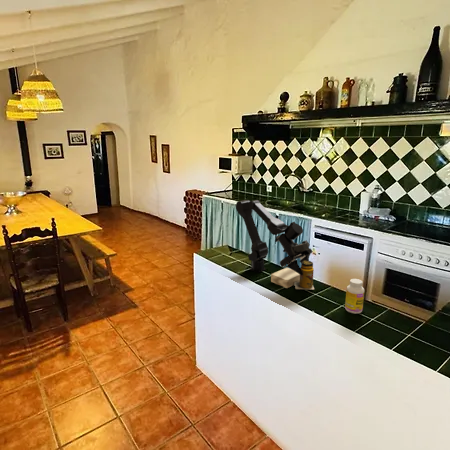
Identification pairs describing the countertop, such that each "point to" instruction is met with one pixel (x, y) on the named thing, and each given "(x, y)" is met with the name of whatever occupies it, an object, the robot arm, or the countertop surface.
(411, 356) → the countertop surface
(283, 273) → the wooden block
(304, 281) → the condiment
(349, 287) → the supplement bottle
